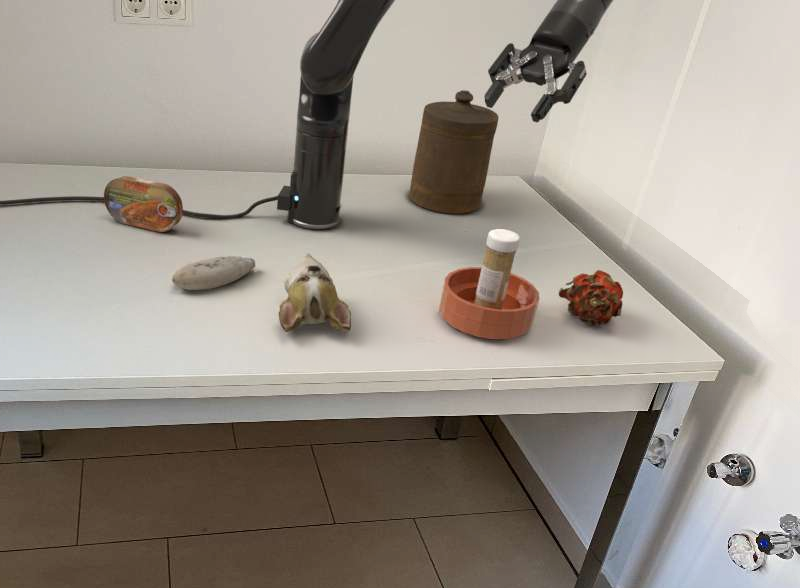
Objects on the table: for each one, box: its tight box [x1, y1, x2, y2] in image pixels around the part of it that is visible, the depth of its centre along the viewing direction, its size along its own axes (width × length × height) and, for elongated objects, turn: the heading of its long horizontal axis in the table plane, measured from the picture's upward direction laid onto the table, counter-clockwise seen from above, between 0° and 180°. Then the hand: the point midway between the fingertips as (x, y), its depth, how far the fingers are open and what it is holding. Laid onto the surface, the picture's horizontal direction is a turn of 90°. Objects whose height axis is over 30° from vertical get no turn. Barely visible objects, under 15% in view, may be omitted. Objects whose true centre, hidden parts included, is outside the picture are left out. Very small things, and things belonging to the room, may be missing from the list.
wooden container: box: [408, 89, 500, 215], centre depth 157 cm, size 15×15×22 cm
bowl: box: [438, 266, 540, 340], centre depth 121 cm, size 14×14×6 cm
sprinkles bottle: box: [474, 228, 521, 309], centre depth 118 cm, size 5×5×14 cm
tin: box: [103, 175, 184, 233], centre depth 140 cm, size 15×3×8 cm, turn 68°
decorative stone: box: [171, 255, 256, 291], centre depth 126 cm, size 6×16×3 cm, turn 130°
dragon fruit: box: [558, 269, 624, 326], centre depth 123 cm, size 8×8×12 cm
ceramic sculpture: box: [278, 252, 352, 333], centre depth 117 cm, size 11×9×15 cm
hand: (510, 111), depth 122 cm, fingers open, 8 cm apart
